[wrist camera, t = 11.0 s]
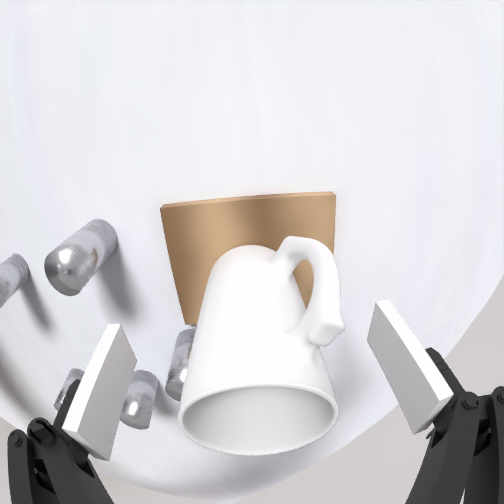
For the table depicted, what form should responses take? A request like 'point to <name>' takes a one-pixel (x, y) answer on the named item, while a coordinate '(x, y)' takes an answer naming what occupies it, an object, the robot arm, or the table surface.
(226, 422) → the mug
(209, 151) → the table surface
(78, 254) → the cylinder
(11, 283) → the cylinder
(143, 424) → the cylinder
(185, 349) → the cylinder
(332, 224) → the trivet
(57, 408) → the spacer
